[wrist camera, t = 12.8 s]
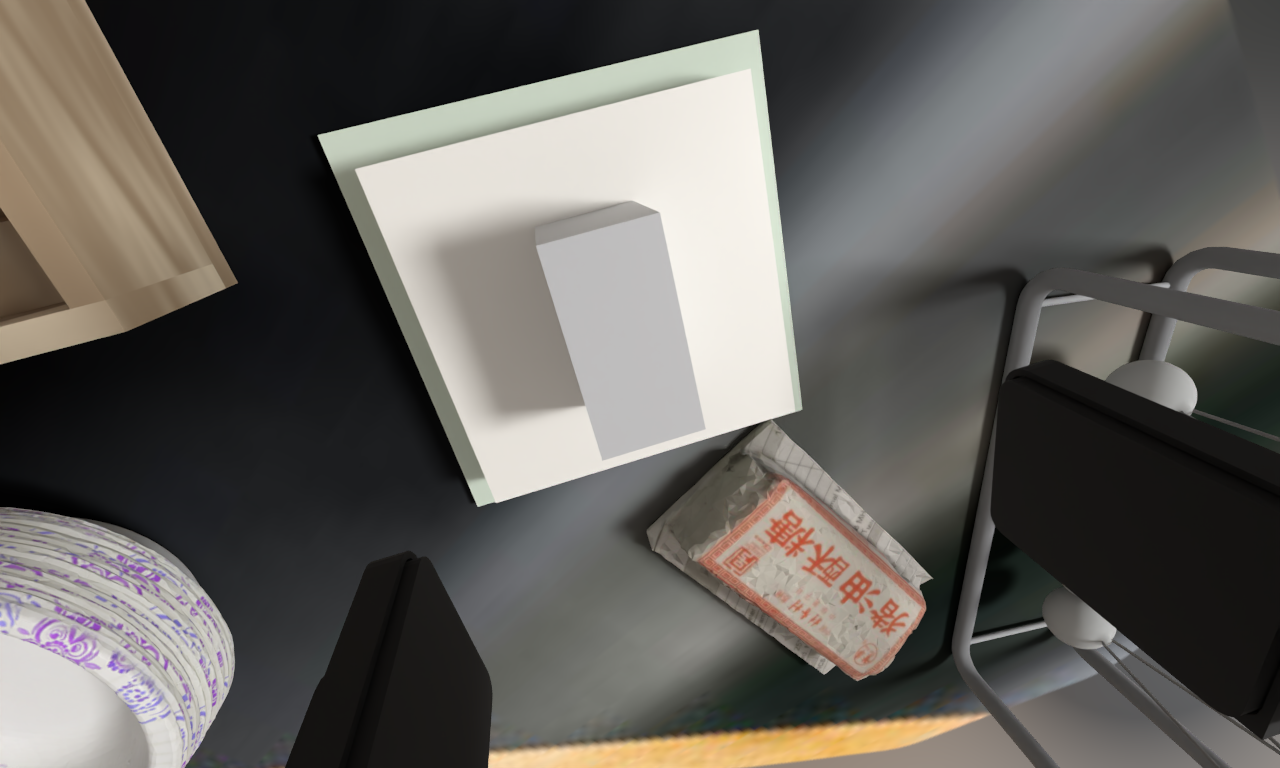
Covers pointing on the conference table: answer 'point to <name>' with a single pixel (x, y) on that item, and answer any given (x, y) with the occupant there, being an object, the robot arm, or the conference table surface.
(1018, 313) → the newton's cradle
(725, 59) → the mat
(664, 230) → the lid
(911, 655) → the conference table surface
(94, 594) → the paper bowls
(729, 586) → the packaged product
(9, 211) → the box
